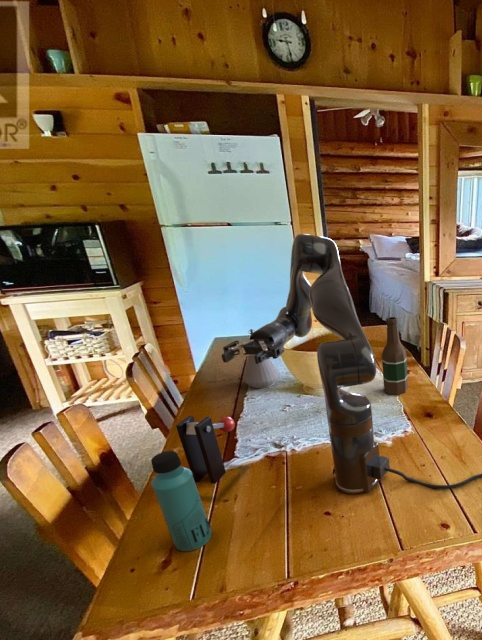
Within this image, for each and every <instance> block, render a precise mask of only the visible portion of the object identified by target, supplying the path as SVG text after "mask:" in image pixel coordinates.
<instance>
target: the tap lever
mask: <svg viewBox="0 0 482 640" xmlns="http://www.w3.org/2000/svg"><path fill="white" fill-rule="evenodd" d="M199 422H200V421H195V422H192V423H187V427H186V434H189V435H196V432H195V429H194V426H195V425H196V424H198V423H199ZM212 424H213V428H214V430H215V429H219V431H221V432H223V433H229V432H232V430H234V428H235V427H236V423H235V420H234V419H233V418H231V417H230V416H223V417H221V418H220V419H219V420H218V422H214V423H212Z"/></svg>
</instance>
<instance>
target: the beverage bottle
mask: <svg viewBox="0 0 482 640" xmlns="http://www.w3.org/2000/svg"><path fill="white" fill-rule="evenodd" d="M181 465H182V460H181V459H180V456H179V455H178V453H177V452H176V451H174V450H165V451H162V452H159V453H158V454H157V453H156V454H155V455H154V456H153V457H152V458H151V466H152V471H153V472H154V473H156V475H155V476H154V477H153V478H152V480H151V483H150V484H151V485H150V486H151V488H152V489H153V492H154V495H155V497H156V500H157V502H158V505H159V508H160V510H161V513H162V516H163V520H164V522H165V525H166V528H167V530H168V533H169V536H170V539H171V540H172V543H173V545H174V547H175V548H176V549H177V550H179V551H181V552H192V551H195V550H197V549H200V548H201V547H203V546H205V545H206V544H208V542H209V541H210V540H211V538H212V533H213V532H212V526H211V525H210V524H211V523H210V520H209V519H210V518H209V516H208V514H207V512H206V509H205V506H204V504H203V502H202V497H201V494H200V490H199V487H198V485H197V483H196V482H195V481H194V478H193V474H192V471H191V470H190V468H189V467H185V466H181Z"/></svg>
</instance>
